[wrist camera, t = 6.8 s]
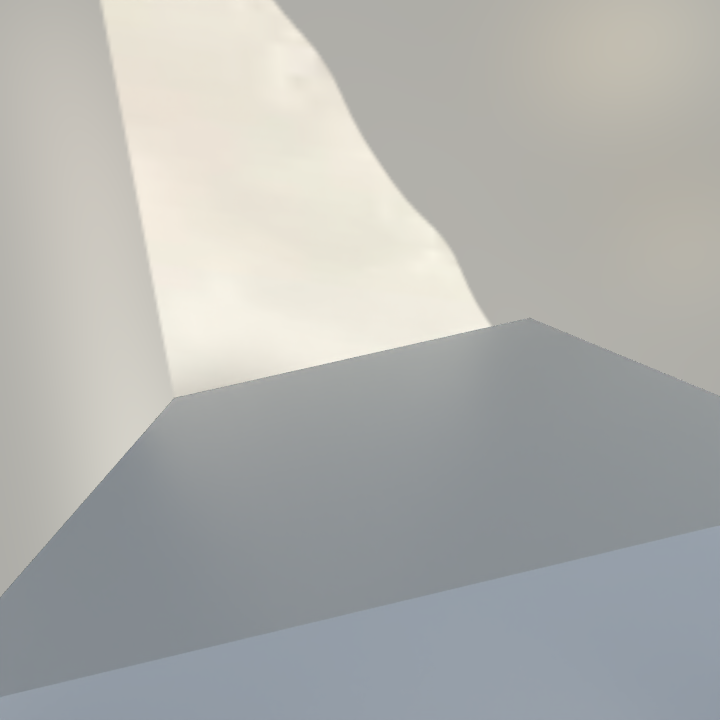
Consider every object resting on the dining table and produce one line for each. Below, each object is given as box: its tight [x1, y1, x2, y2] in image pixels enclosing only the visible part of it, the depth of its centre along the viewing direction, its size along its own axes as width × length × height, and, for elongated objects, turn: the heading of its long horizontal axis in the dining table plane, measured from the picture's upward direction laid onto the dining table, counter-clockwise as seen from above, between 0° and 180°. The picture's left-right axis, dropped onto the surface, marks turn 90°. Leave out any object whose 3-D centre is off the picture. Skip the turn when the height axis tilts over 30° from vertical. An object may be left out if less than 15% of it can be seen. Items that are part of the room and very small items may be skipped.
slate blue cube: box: [0, 318, 720, 720], centre depth 10 cm, size 10×10×9 cm
